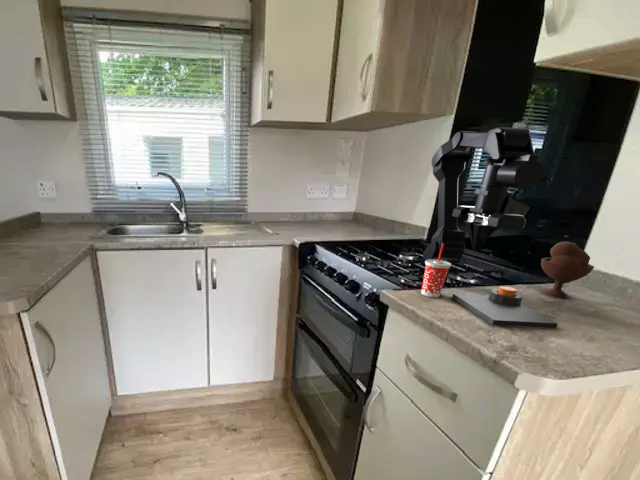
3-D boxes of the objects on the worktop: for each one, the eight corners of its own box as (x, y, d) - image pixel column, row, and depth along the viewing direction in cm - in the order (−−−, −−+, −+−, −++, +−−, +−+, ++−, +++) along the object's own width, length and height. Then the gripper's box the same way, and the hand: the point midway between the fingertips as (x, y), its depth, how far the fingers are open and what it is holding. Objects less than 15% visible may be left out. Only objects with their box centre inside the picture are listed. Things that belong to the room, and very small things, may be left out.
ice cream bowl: (562, 302, 94) (584, 247, 89) (521, 289, 104) (539, 238, 99) (590, 300, 97) (613, 246, 92) (547, 287, 107) (566, 238, 101)
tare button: (494, 292, 92) (496, 285, 91) (508, 292, 92) (510, 286, 91) (503, 297, 88) (505, 290, 88) (518, 297, 88) (520, 291, 88)
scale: (451, 297, 94) (454, 287, 93) (507, 300, 94) (510, 289, 93) (492, 325, 78) (496, 312, 77) (559, 328, 78) (564, 316, 77)
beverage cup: (414, 290, 99) (425, 240, 94) (435, 290, 99) (448, 241, 94) (424, 297, 93) (437, 245, 88) (447, 298, 93) (461, 246, 88)
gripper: (561, 190, 75) (536, 262, 81) (501, 185, 92) (483, 244, 98) (509, 188, 75) (487, 260, 81) (459, 183, 92) (443, 242, 98)
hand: (475, 250), depth 89 cm, fingers closed
